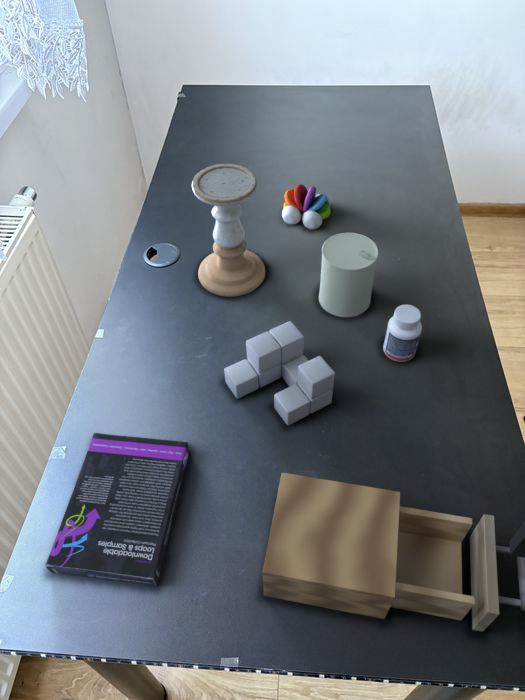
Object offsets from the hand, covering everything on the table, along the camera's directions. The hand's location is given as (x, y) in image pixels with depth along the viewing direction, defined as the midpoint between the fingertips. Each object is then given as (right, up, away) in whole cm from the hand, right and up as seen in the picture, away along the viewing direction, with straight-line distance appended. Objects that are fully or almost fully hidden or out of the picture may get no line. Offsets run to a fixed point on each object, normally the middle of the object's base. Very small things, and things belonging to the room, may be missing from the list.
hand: (522, 550), depth 64 cm
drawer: (-6, -6, +9) cm, 12 cm away
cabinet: (-20, -5, +12) cm, 23 cm away
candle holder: (-34, +35, +46) cm, 67 cm away
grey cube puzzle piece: (-26, +15, +28) cm, 41 cm away
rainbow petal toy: (-19, +48, +56) cm, 76 cm away
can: (-14, +30, +41) cm, 53 cm away
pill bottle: (-6, +21, +33) cm, 40 cm away
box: (-47, 0, +17) cm, 49 cm away
